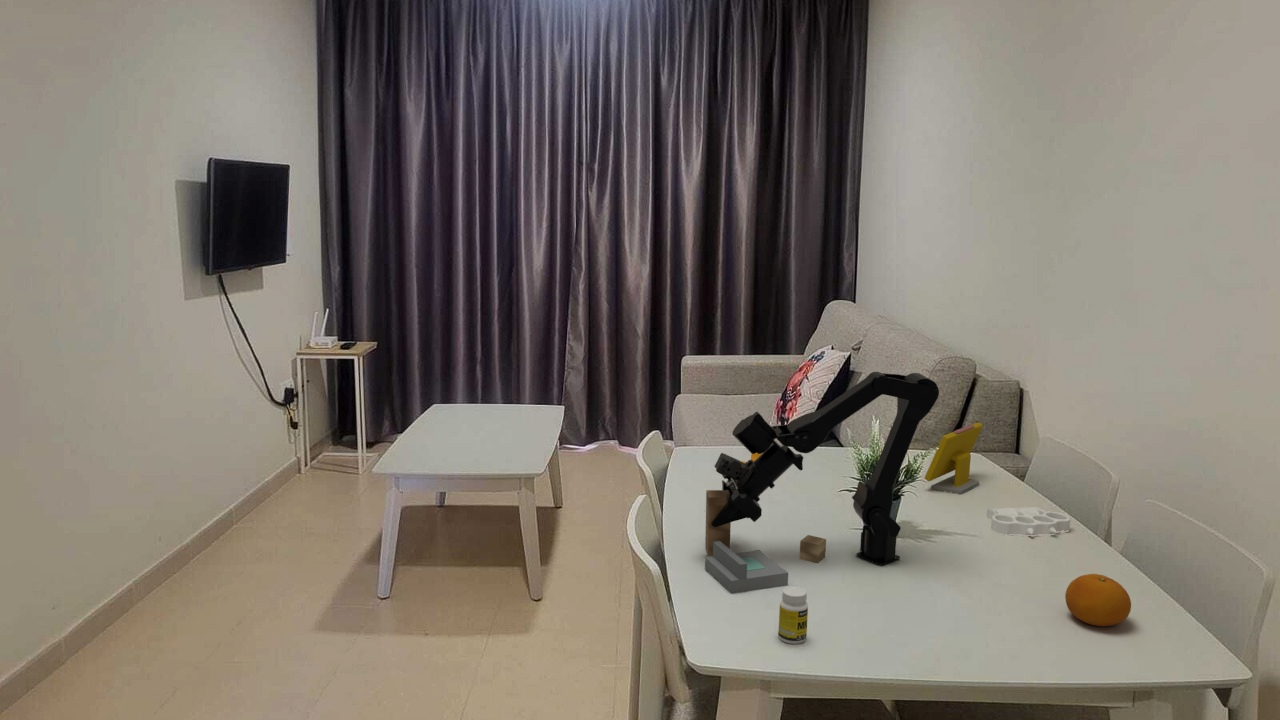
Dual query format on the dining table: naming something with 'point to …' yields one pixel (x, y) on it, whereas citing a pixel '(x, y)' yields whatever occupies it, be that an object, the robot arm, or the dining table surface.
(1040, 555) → the dining table surface
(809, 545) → the oak block
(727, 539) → the walnut pillar
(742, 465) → the robot arm
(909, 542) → the dining table surface
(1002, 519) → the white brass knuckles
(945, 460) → the yellow framed monitor
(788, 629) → the supplement bottle
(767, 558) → the base slab
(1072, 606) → the fruit
